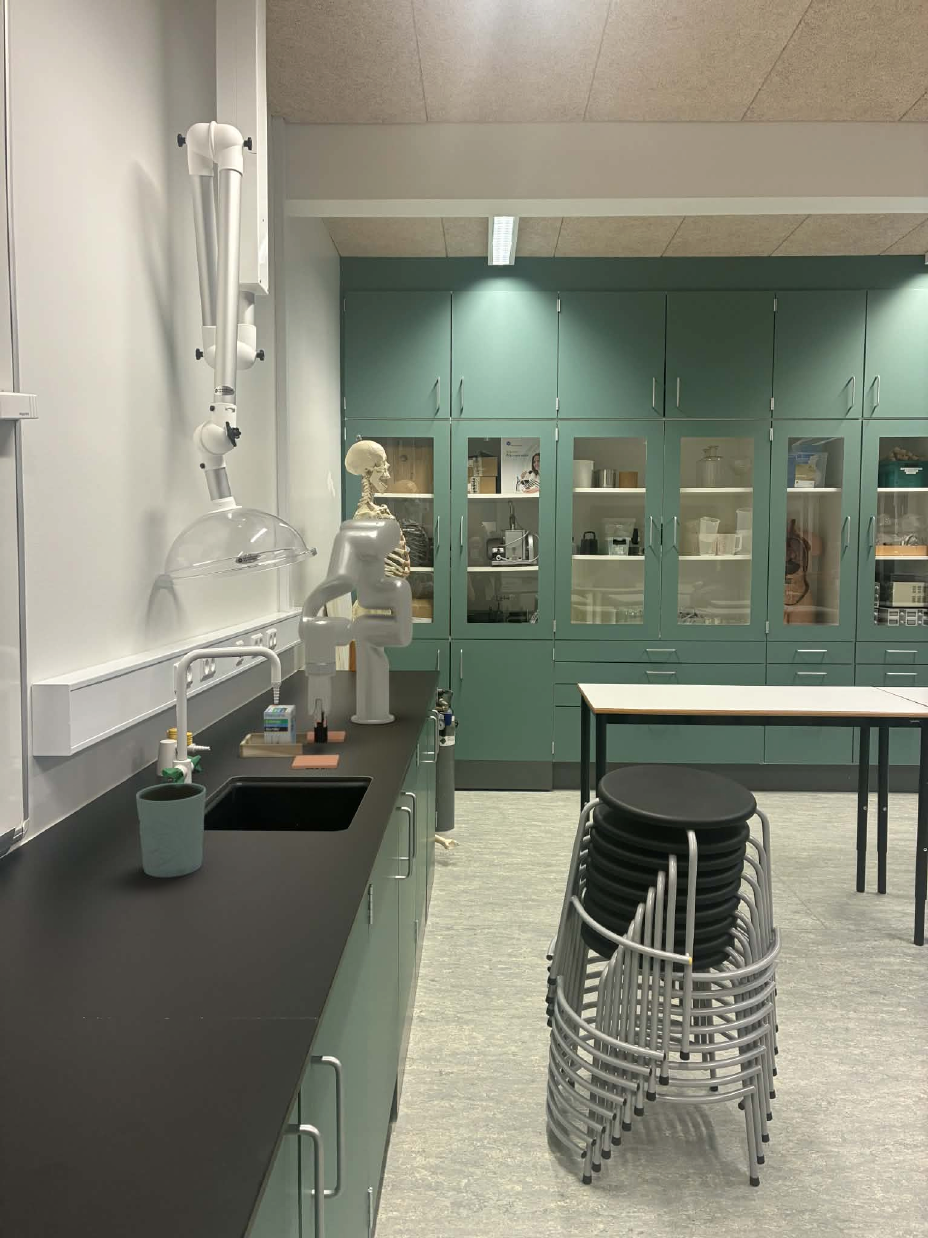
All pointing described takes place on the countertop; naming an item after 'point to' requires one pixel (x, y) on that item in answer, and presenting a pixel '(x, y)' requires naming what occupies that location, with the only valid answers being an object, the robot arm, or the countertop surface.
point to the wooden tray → (270, 747)
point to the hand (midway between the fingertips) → (321, 742)
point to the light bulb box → (280, 724)
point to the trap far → (331, 737)
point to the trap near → (315, 761)
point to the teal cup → (171, 828)
